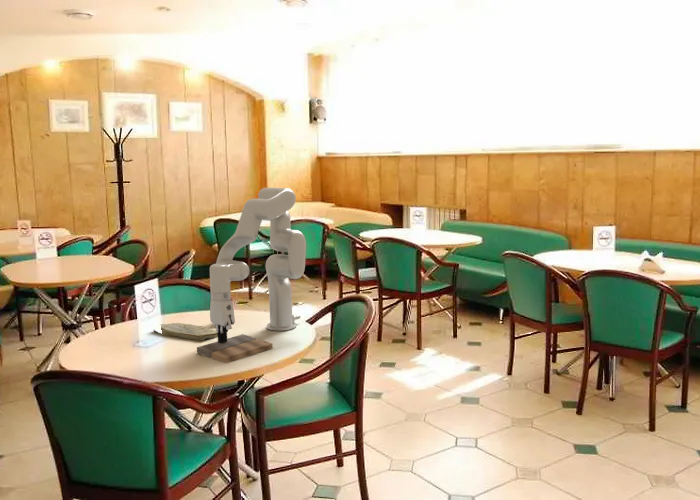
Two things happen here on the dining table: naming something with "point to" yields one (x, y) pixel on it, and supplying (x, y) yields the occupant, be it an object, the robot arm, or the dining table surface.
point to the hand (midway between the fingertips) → (222, 341)
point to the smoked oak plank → (223, 344)
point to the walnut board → (241, 350)
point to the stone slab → (188, 331)
